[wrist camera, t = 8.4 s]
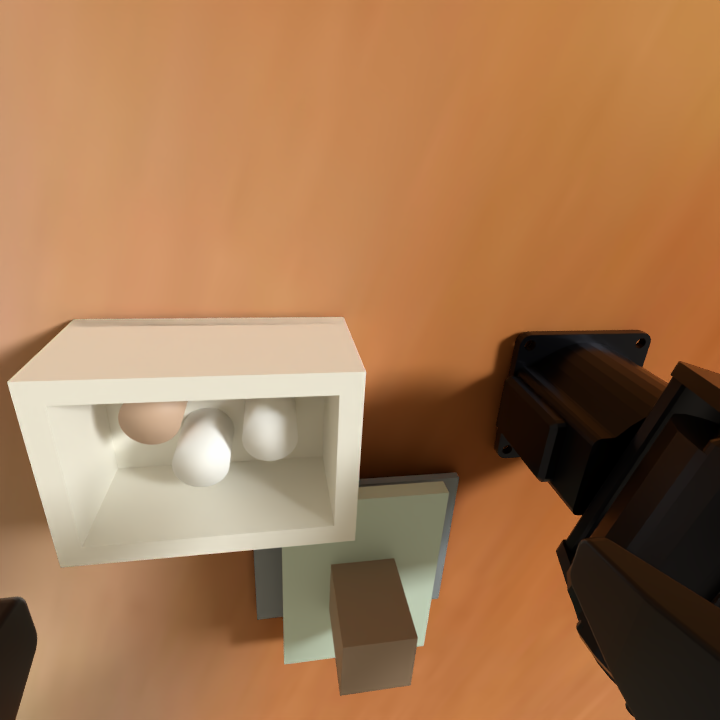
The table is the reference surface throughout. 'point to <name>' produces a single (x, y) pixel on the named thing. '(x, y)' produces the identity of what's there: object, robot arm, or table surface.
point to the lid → (367, 588)
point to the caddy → (193, 435)
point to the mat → (271, 559)
